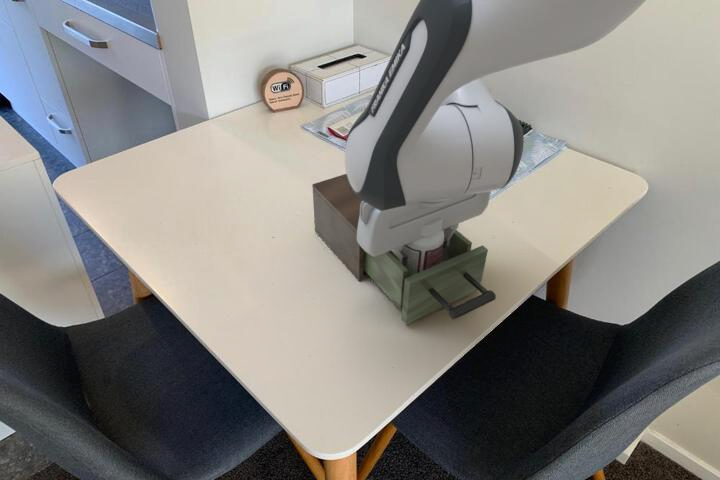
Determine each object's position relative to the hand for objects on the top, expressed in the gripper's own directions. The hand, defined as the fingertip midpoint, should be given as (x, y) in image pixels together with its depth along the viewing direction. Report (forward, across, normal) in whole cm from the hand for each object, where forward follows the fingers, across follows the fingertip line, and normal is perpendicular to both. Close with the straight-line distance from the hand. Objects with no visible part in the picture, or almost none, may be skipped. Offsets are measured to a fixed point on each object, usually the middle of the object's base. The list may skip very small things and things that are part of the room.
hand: (420, 254), depth 76 cm
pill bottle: (+4, 0, 0) cm, 4 cm away
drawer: (+5, 0, -2) cm, 6 cm away
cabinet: (+6, 0, +12) cm, 14 cm away
